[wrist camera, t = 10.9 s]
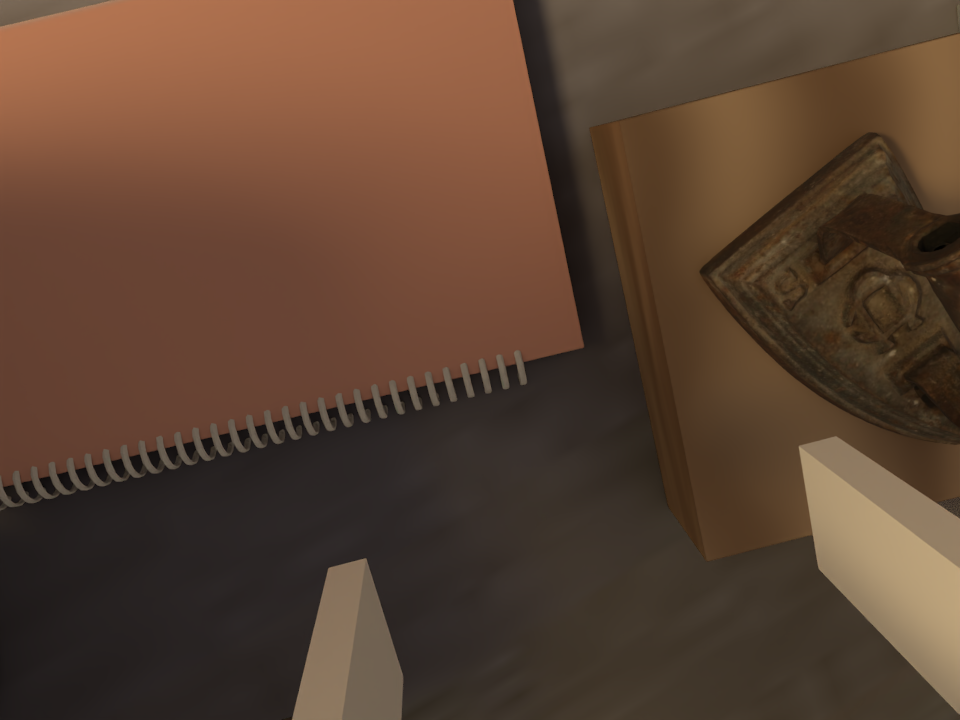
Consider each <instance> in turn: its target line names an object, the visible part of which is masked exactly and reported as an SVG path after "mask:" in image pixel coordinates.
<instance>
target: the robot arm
mask: <svg viewBox="0 0 960 720" xmlns="http://www.w3.org/2000/svg"><path fill="white" fill-rule="evenodd" d="M799 452H800V458H801V464H802V470H803V476H804V483H805V489H806V495H807V501H808V507H809V513H810V520H811V526H812V532H813V538H814V544H815V551H816V557H817V563H818V569H819V570H820V571H821V572H822V573H823V574H824V575H825V576H826V577H827V578H828V579H829V580H830V581H831V582H832V583H833V584H834V585H835V586H836V587H837V588H838V590H839V591H840V592H841V593H842V594H843V595H844V596H845V597H846V598H847V599H848V600H849V601H850V602H851V603H852V604H853V605H854V606H855V607H856V608H857V609H858V610H859V611H860V612H861V613H862V614H863V615H864V616H865V617H866V619H867V620H868V621H869V622H870V623H871V624H872V625H873V626H874V627H875V628H876V629H877V630H878V631H879V632H880V633H881V634H882V635H883V636H884V637H885V638H886V639H887V640H888V641H889V642H890V643H891V644H892V645H893V646H894V647H895V649H896V650H897V651H898V652H899V653H900V654H901V655H902V656H903V657H904V658H905V659H906V660H907V661H908V662H909V663H910V664H911V665H912V666H913V667H914V668H915V669H916V670H917V671H918V672H919V673H920V674H921V675H922V676H923V678H924V679H925V680H926V681H927V682H928V683H929V684H930V685H931V686H932V687H933V688H934V689H935V690H936V691H937V692H938V693H939V694H940V695H941V696H942V697H943V698H944V699H945V700H946V701H947V702H948V703H949V704H950V705H951V707H952V708H953V709H954V710H955V711H956V712H957V713H958V714H959V715H960V519H959V518H958V517H956V516H955V515H953V514H952V513H950V512H949V511H947V510H946V509H944V508H943V507H941V506H940V505H938V504H937V503H935V502H934V501H932V500H931V499H929V498H928V497H926V496H925V495H923V494H922V493H920V492H919V491H917V490H916V489H915V488H913V487H912V486H910V485H909V484H907V483H906V482H904V481H903V480H901V479H900V478H898V477H897V476H895V475H894V474H892V473H891V472H889V471H888V470H886V469H885V468H883V467H882V466H880V465H879V464H877V463H876V462H874V461H873V460H871V459H870V458H868V457H867V456H865V455H864V454H862V453H861V452H859V451H858V450H856V449H855V448H853V447H852V446H850V445H849V444H847V443H846V442H844V441H843V440H841V439H840V438H838V437H837V436H835V437H831V438H827V439H823V440H820V441H816V442H812V443H808V444H804V445H800V446H799ZM402 695H403V674H402V671H401V668H400V664H399V661H398V658H397V655H396V652H395V648H394V645H393V642H392V639H391V636H390V632H389V629H388V626H387V623H386V620H385V617H384V613H383V610H382V607H381V604H380V601H379V597H378V594H377V591H376V588H375V585H374V581H373V578H372V575H371V572H370V569H369V565H368V562H367V559H366V558H365V559H361V560H357V561H353V562H349V563H345V564H342V565H338V566H334V567H330V568H328V572H327V576H326V580H325V584H324V589H323V593H322V597H321V601H320V605H319V609H318V613H317V618H316V622H315V626H314V630H313V634H312V638H311V643H310V647H309V651H308V655H307V659H306V663H305V667H304V672H303V676H302V680H301V684H300V688H299V692H298V696H297V701H296V705H295V709H294V713H293V717H290V718H286V719H283V720H401V718H402Z"/></svg>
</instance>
